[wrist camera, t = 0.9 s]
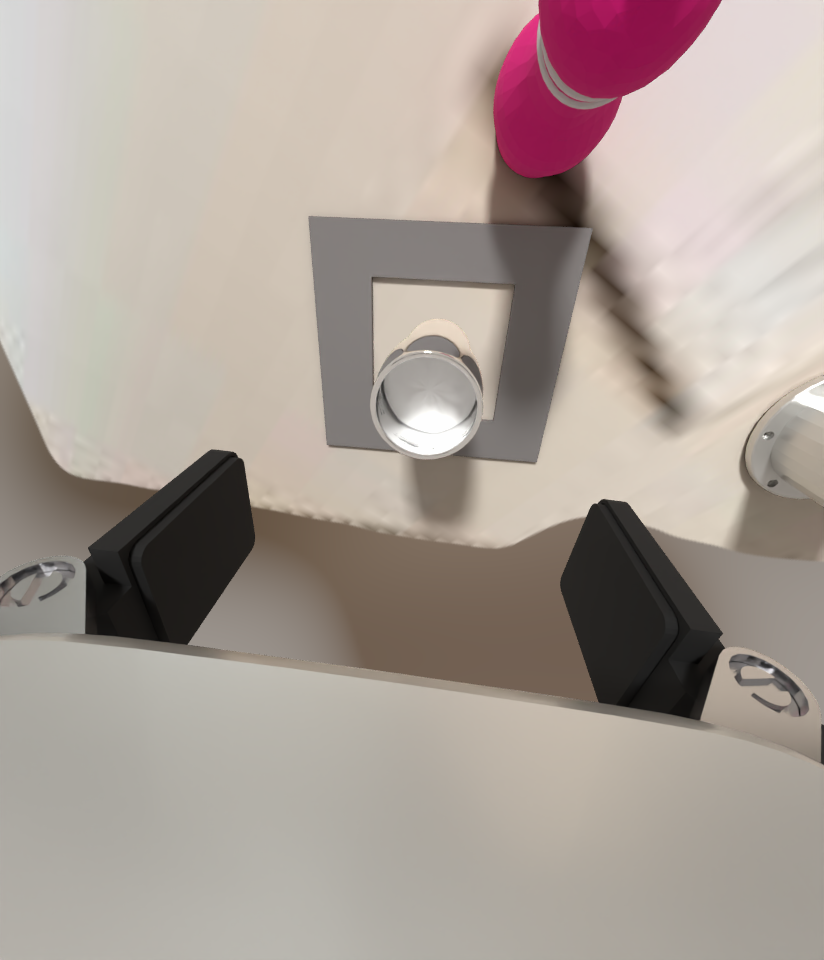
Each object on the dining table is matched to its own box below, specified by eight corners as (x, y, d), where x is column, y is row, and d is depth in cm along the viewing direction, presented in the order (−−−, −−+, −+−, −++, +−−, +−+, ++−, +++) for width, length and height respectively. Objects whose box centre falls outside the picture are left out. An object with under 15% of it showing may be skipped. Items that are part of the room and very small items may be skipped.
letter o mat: (591, 228, 29) (592, 228, 28) (535, 460, 39) (536, 462, 39) (310, 216, 30) (308, 216, 30) (327, 443, 40) (326, 444, 40)
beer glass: (416, 400, 37) (394, 476, 24) (388, 330, 34) (345, 373, 21) (485, 376, 35) (501, 443, 22) (461, 299, 32) (465, 326, 19)
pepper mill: (526, 211, 29) (631, 139, 11) (467, 119, 26) (488, -146, 9) (617, 123, 26) (943, -153, 8) (560, 11, 23) (846, -679, 6)
